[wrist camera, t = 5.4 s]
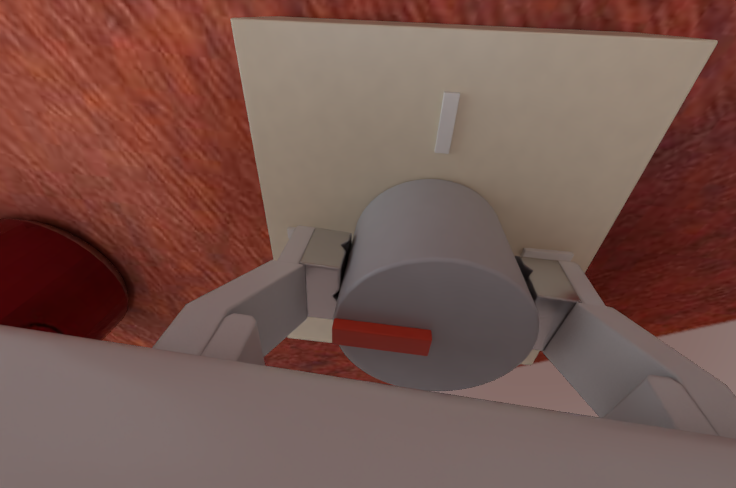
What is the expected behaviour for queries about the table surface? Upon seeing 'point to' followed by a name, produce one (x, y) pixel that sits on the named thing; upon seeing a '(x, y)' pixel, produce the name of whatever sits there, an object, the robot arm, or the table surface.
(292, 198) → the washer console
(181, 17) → the table surface
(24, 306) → the soda can
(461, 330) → the dial
